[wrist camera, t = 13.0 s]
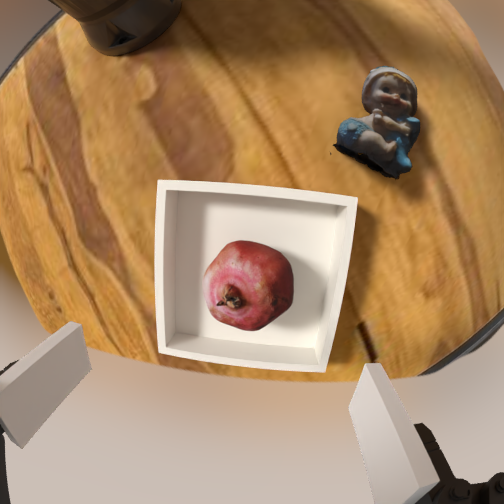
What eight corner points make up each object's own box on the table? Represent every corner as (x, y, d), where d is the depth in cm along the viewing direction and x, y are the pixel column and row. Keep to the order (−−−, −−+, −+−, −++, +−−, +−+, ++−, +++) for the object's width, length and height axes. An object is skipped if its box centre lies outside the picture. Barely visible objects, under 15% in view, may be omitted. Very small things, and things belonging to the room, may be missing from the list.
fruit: (307, 281, 31) (322, 318, 21) (243, 325, 33) (232, 373, 23) (259, 217, 30) (254, 228, 20) (195, 267, 32) (164, 297, 22)
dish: (171, 333, 35) (158, 352, 30) (174, 181, 31) (157, 179, 26) (319, 350, 34) (325, 372, 29) (344, 196, 30) (357, 197, 25)
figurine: (323, 148, 24) (375, 34, 19) (330, 160, 31) (373, 66, 26) (405, 193, 22) (450, 71, 17) (392, 194, 29) (432, 97, 24)
